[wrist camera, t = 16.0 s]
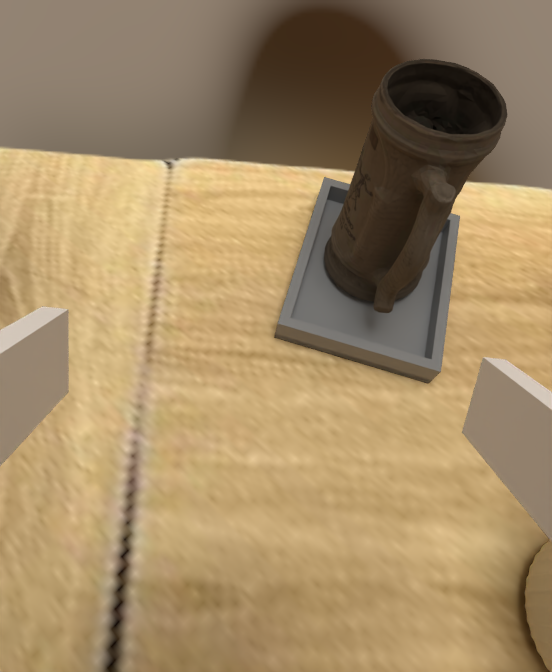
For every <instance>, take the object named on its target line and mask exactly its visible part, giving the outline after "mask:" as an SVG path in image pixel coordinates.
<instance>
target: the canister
mask: <svg viewBox="0 0 552 672" xmlns="http://www.w3.org/2000/svg"><path fill="white" fill-rule="evenodd" d="M524 593H525V599H526V602H525V609H526V613H527V622H528V624H529V627H530V631H531V637H532V638H533V640H534V642H535V645H536V649H537V652H538V653H539V654H540V655H541V657H542V659H543V661H544V664H545V666H546V668H547V669H548V670H549V671H550V672H552V542H551V540H549V542H547V543H545V544H544V545H543V546H542V548H541V550H540V552H538V553H537V554H536V555H535V557H534V561H533V563H532V565H531V566H530V567H529V575H528V577H527V578H526V589H525V592H524Z"/></svg>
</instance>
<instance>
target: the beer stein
mask: <svg viewBox="0 0 552 672" xmlns="http://www.w3.org/2000/svg"><path fill="white" fill-rule="evenodd" d="M371 107H372V108H371V109H372V116H373V119H372V122H371V125H370V128H369V132H368V134H367V137H366V140H365V143H364V146H363V149H362V152H361V155H360V158H359V161H358V164H357V167H356V170H355V173H354V176H353V178H352V181H351V184H350V187H349V190H348V193H347V195H346V198H345V201H344V204H343V207H342V210H341V212H340V214H339V216H338V218H337V220H336V222H335V224H334V225H333V227H332V233H331V237H330V238H329V240H328V241H327V244H326V246H325V252H324V261H325V266H326V269H327V271H328V273H329V275H330V277H331V278H332V279H333V280H334V282H335V283H336V284H337V285H338V286H339V287H340V288H341V289H342V290H344V291H346V292H347V293H349V294H350V295H352V296H355V297H357V298H359V299H362V300H368V301H373V302H374V306H373V307H374V310H375V311H377V312H379V313H390V312H391V311H392V310H393V306H394V301H395V300H398V299H401V298H403V297H406V296H407V295H408V294H410V293H411V292H412V291H413V290H414V289H415V288H416V287H417V285H418V283H419V281H420V279H421V277H422V272H423V270H424V269H425V268H426V266H427V264H428V262H429V259H430V252H431V250H432V248H433V246H434V244H435V242H436V240H437V238H438V236H439V234H440V232H441V230H442V228H443V226H444V224H445V222H446V220H447V219H448V217H449V215H450V213H451V210H452V206H453V204H454V201H455V199H456V197H457V195H458V194H459V193H460V191H461V189H462V187H463V185H464V184H465V182H466V180H467V178H468V177H469V175H470V173H471V172H472V171H473V170H474V169H475V168H476V167H477V165H478V164H479V163H480V162H481V161H482V160H483V159H484V158H485V156H487V155H488V154H489V153H491V151H492V150H493V149H494V148H495V146H496V144H497V143H498V140H499V139H500V134H501V131H502V129H503V127H504V125H505V122H506V118H507V109H506V103H505V101H504V99H503V97H502V96H501V94H500V93H499V91H498V90H497V89H496V87H495V86H494V84H492V83H491V82H490V81H488V80H487V79H486V78H484V77H482V76H481V75H480V74H478V73H477V72H475V71H473V70H470V69H469V68H467V67H464V66H461V65H458V64H456V63H451V62H445V61H439V60H430V59H420V60H414V61H407V62H404V63H401V64H399V65H396V66H395V67H393V68H392V69H390V70H389V71H388V72H387V73H386V75H385V76H384V78H383V80H382V82H381V84H380V86H379V88H378V90H377V91H376V93H375V94H374V97H373V100H372V105H371Z"/></svg>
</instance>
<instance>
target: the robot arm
mask: <svg viewBox="0 0 552 672" xmlns="http://www.w3.org/2000/svg"><path fill="white" fill-rule="evenodd" d="M67 393H68V309H61V308H52V307H44V306H42V307H40V308H39V309H37V310H35V311H33V312H32V313H30V314H28V315H26V316H24V317H23V318H21V319H19V320H17V321H15V322H14V323H12V324H10V325H8V326H7V327H5V328H3V329H1V330H0V466H1V465H2V464H3V463H4V462H5V460H6V459H7V458H8V457H9V456H10V455H11V454H12V453H13V452H14V451H15V450H16V448H17V447H18V446H19V445H20V444H21V443H22V442H23V441H24V440H25V439H26V438H27V437H28V435H29V434H30V433H31V432H32V431H33V430H34V429H35V428H36V427H37V426H38V425H39V423H40V422H41V421H42V420H43V419H44V418H45V417H46V416H47V415H48V414H49V413H50V412H51V410H52V409H53V408H54V407H55V406H56V405H57V404H58V403H59V402H60V401H61V400H62V398H63V397H64V396H65V395H66V394H67ZM462 433H463V434H464V435H465V437H466V438H467V439H468V440H469V442H470V443H471V444H472V445H473V446H474V448H475V449H476V450H477V451H478V453H479V454H480V455H481V456H482V457H483V459H484V460H485V461H486V462H487V464H488V465H489V466H490V467H491V468H492V470H493V471H494V472H495V473H496V475H497V476H498V477H499V478H500V479H501V481H502V482H503V483H504V484H505V486H506V487H507V488H508V489H509V490H510V492H511V493H512V494H513V495H514V496H515V498H516V499H517V500H518V501H519V503H520V504H521V505H522V506H523V507H524V509H525V510H526V511H527V512H528V514H529V515H530V516H531V517H532V518H533V520H534V521H535V522H536V523H537V525H538V526H539V527H540V528H541V529H542V531H543V532H544V533H545V534H546V536H547V537H548V538H549V539H550V540H551V542H552V392H551V391H549V390H548V389H546V388H545V387H544V386H542V385H541V384H539V383H538V382H537V381H535V380H534V379H532V378H531V377H529V376H528V375H527V374H525V373H524V372H522V371H521V370H520V369H518V368H517V367H515V366H514V365H513V364H511V363H510V362H508V361H507V360H504V359H496V358H487V357H483V359H482V363H481V366H480V370H479V373H478V377H477V381H476V384H475V388H474V391H473V395H472V398H471V402H470V406H469V409H468V413H467V416H466V420H465V423H464V427H463V431H462Z"/></svg>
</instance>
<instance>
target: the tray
mask: <svg viewBox="0 0 552 672" xmlns="http://www.w3.org/2000/svg"><path fill="white" fill-rule="evenodd" d="M349 187H350V184H347V183H343V182H340V181H336V180H333V179H329V178H326V177H324V180H323V183H322V186H321V189H320V192H319V195H318V198H317V202H316V205H315V208H314V211H313V214H312V217H311V220H310V224H309V227H308V230H307V233H306V236H305V239H304V242H303V246H302V249H301V252H300V255H299V258H298V261H297V264H296V268H295V271H294V274H293V277H292V280H291V283H290V286H289V289H288V293H287V296H286V299H285V302H284V305H283V308H282V311H281V315H280V318H279V321H278V324H277V329H276V333H275V338H278V339H282V340H285V341H288V342H292V343H295V344H298V345H302V346H305V347H308V348H312V349H315V350H318V351H322V352H325V353H328V354H332V355H335V356H339V357H342V358H345V359H349V360H352V361H355V362H359V363H362V364H365V365H369V366H372V367H375V368H379V369H382V370H385V371H389V372H392V373H395V374H399V375H402V376H405V377H409V378H412V379H416V380H419V381H422V382H426V383H429V382H430V381H431V380H432V379H434V378H435V377H436V376H437V375H438V374H439V373H440V372H441V366H442V358H443V350H444V342H445V334H446V325H447V317H448V309H449V301H450V293H451V285H452V277H453V269H454V261H455V252H456V244H457V236H458V228H459V220H460V216H458V215H455V214H451V213H450V215H449V217H448V219H447V220H446V222H445V224H444V226H443V228H442V230H441V232H440V234H439V236H438V238H437V240H436V242H435V244H434V246H433V248H432V250H431V252H430V259H429V262H428V264H427V266H426V268H425V269H424V270H423V272H422V277H421V279H420V281H419V283H418V285H417V287H416V288H415V289H414V290H413V291H412V292H411V293H410V294H408V295H407V296H406V297H403V298H401V299H398V300H395V301H394V306H393V310H392V311H391V312H390V313H379V312H377V311H375V310H374V307H373V306H374V302H373V301H368V300H362V299H359V298H357V297H355V296H352V295H350V294H349V293H347V292H346V291H344V290H342V289H341V288H340V287H339V286H338V285H337V284H336V283H335V282H334V280H333V279H332V278H331V277H330V275H329V273H328V271H327V269H326V266H325V261H324V252H325V246H326V244H327V241H328V240H329V238H330V237H331V233H332V227H333V225H334V224H335V222H336V220H337V218H338V216H339V214H340V212H341V210H342V207H343V204H344V201H345V198H346V195H347V193H348V190H349Z"/></svg>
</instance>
